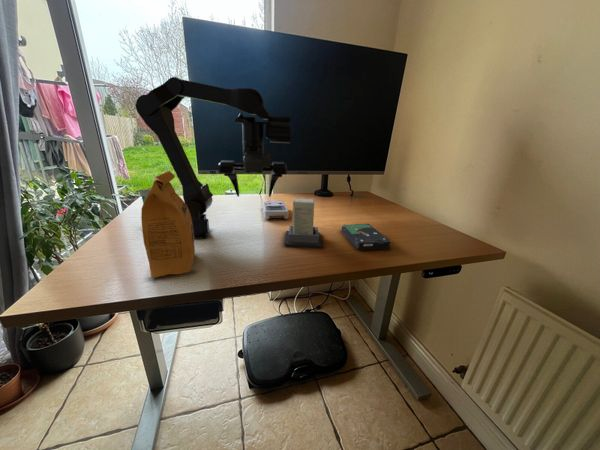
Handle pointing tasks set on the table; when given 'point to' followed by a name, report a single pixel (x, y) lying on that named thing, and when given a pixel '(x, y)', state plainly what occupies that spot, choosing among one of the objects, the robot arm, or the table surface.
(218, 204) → the table surface
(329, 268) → the table surface
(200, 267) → the table surface
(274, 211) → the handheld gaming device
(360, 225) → the disk drive
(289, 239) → the dock pad
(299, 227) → the cosmetic box
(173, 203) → the coffee package
